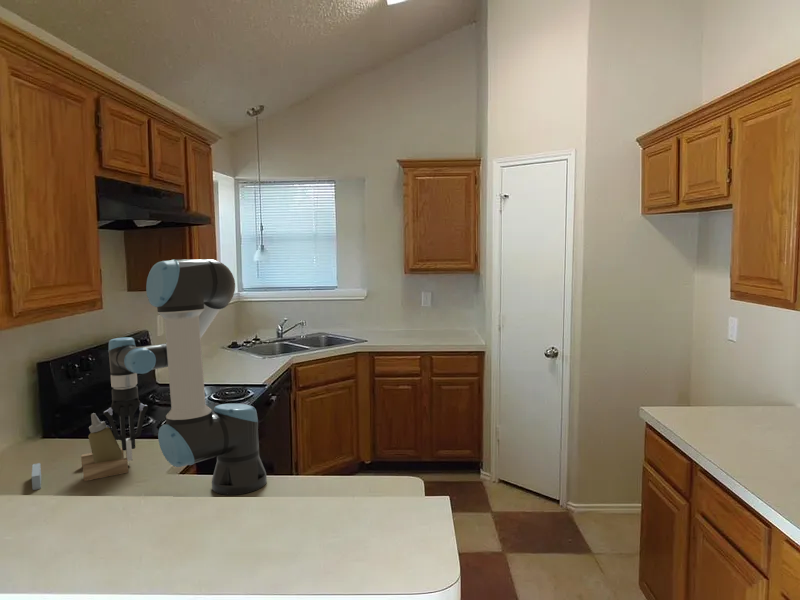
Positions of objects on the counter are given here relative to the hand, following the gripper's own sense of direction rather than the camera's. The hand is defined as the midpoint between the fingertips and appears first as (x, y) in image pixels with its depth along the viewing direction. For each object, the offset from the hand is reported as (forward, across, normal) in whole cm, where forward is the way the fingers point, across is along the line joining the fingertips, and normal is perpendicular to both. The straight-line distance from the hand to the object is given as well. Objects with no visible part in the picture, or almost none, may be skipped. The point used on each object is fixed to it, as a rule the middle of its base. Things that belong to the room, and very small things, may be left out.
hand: (129, 459), depth 186 cm
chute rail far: (+2, +7, -6) cm, 9 cm away
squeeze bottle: (+1, +5, 0) cm, 5 cm away
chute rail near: (+2, +7, +6) cm, 10 cm away
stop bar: (+2, +25, 0) cm, 25 cm away
